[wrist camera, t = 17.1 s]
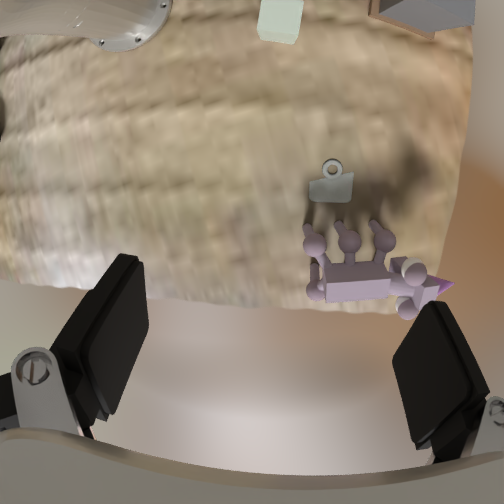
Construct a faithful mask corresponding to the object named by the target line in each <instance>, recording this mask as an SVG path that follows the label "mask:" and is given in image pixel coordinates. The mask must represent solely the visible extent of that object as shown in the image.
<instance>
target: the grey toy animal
mask: <svg viewBox="0 0 504 504" xmlns="http://www.w3.org/2000/svg"><path fill="white" fill-rule="evenodd" d="M369 227H370V228H371V230H372V231H373V232H374V233H375V237H374V245H375V247H376V249H377V251H376V255H375V258H374V261H365V262H355V253H356V252H357V251H358V250H359V249H360V247H361V238H360V236H359V234H358V233H357V232H355V231H352V230H347V229H346V227H345V226H344V224H343V223H342V222H341V221H336V222H335V224H334V228H335V230H336V231H337V233H338V235H339V236H340V237H339V240H338V245H339V247H340V249H341V250H342V251H343V252H344V253H345V263H333V264H332V263H331V262H330V260H329V258H328V257H327V255H326V254H325V251H326V248H327V243H326V240H325V238H324V237H323V236H322V235H320V234H318V233H314V231H313V228H312V226H311V225H310V224H309V223H306V224H304V225H303V232H304V235H305V237H306V238H305V239H304V242H303V248H304V251H305V252H306V254H308V255H309V256H311V257H315V258H316V259H317V261H318V262H319V264H320V266H321V267H322V269H323V278H322V279H321V280H320V277H319V265H318V264H316V263H313V264H311V265H310V283H309V284H308V285H307V288H306V293H307V295H308V297H309V298H310V299H311V300H314V301H320V300H322V299H324V298H325V300H326V303H334V302H347V301H360V300H372V299H383V298H388V294H391V295H397V296H399V297H398V299H397V301H396V310H397V312H398V314H399V316H400V317H401V318H403V319H405V320H410V319H413V318H414V317H416V315H417V314H418V312H419V310H421V309H422V307H423V306H424V305H425V304H427V303H428V302H429V301H431V300H434V301H435V300H436V297H437V295H439V294H440V293H442V292H443V291H445V290H446V289H447V288H449V287H450V286H452V285H453V284H454V283H453V282H450V281H447V280H443V279H440V278H437V277H434V276H431V275H427V270H426V267H425V265H424V264H423V262H422V261H421V260H420V259H419V258H416V257H411V258H407V257H406V256H405V257H396V258H391V261H390V268H389V272H388V271H387V269H386V267H385V265H384V259H385V256H386V253H388V252H390V251H392V250H393V249H394V247H395V245H396V237H395V235H394V234H393V233H392V232H391V231H389V230H384V229H383V228H382V227H381V226H380V225H379V223H378V222H377V221H376V220H371V221H370V222H369Z"/></svg>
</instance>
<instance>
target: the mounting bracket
mask: <svg viewBox="0 0 504 504" xmlns="http://www.w3.org/2000/svg"><path fill="white" fill-rule="evenodd" d="M332 164H333V165H336V166H337V169H338V170H337V172H336V173H335V174H330V173H328V170H327V169H328V166H329V165H332ZM342 170H343V169H342V165H341V163H340V162H339V161H338V160H335V159H330V160H327V161H326V162H325V163H324V164H323V167H322V172H323V174H324V176H325V177H327V178H323V179H319V180H314V181H310V187H309V198H310V200H311V201H314V202H333V203H347V202H349V201H350V200H351V196H352V187H353V176H354V172H350V173H345V174H342Z"/></svg>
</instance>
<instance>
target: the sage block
mask: <svg viewBox="0 0 504 504" xmlns="http://www.w3.org/2000/svg"><path fill="white" fill-rule="evenodd" d="M303 4H304V1H301V0H262V1H261V7H260V13H259V19H258V25H257V31H258V34H259V37H260V40H267V41H274V42H280V43H287V44H292V45H294V43H295V41H296V39H297V37H298V34H299V28H300V22H301V16H302V10H303Z"/></svg>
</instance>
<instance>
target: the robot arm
mask: <svg viewBox="0 0 504 504" xmlns="http://www.w3.org/2000/svg"><path fill="white" fill-rule="evenodd" d="M165 5H166V7H165V8H164V6H165ZM171 5H172V0H0V37H5V36H12V35H27V34H42V35H61V36H75V37H86V38H90V40H91V41H92V43H94V44H95V45H96V46H97V47H99V48H101V49H103V50H106V51H111V52H124V51H129V50H133V49H135V48H137V47H140V46H142V45H143V44H145V43H146V42H148V41H149V40H151V39H152V38H153V37H154V36H155V35H156V34H157V33H158V32H159V31H160V30H161V28H162V27H163V25H164V24H165V22H166V21H167V18H168V16H169V14H170V10H171ZM140 39H141V41H139V40H140ZM148 328H149V320H148V311H147V301H146V290H145V277H144V265H143V262H140V261H139V259H138V257H137V256H133V255H128V254H122V253H121V254H119V255H118V256H117V257H116V259H115V260H114V261H113V263H112V264H111V265H110V267H109V268H108V269H107V271H106V272H105V273H104V275H103V276H102V278H101V279H100V280H99V282H98V283H97V285H96V286H95V287H94V289H91V290H89V291H88V292H87V293H86V295H85V296H84V298H83V299H82V301H81V302H80V304H79V305H78V306H77V308H76V309H75V311H74V312H73V314H72V315H71V317H70V318H69V320H68V321H67V323H66V324H65V326H64V327H63V329H62V330H61V332H60V333H59V335H58V336H57V338H56V340H55V341H54V343H53V344H52V346H51V348H50V349H49V350H47V349H45V348H42V347H32V348H28V349H26V350H24V351H22V352H21V353H20V354H18V356H17V357H16V358H15V359H14V361H13V364H12V366H11V372H10V373H7V374H4V375H1V376H0V504H504V399H503V398H500V397H497V396H493V397H490V398H489V399H488V400H487V401H486V399H485V397H486V396H487V395H488V394H489V393H490V390H489V388H488V386H487V384H486V381H485V379H484V377H483V375H482V372H481V370H480V368H479V366H478V364H477V361H476V359H475V357H474V355H473V353H472V351H471V349H470V347H469V345H468V343H467V341H466V339H465V337H464V335H463V333H462V331H461V329H460V327H459V325H458V324H457V322H456V320H455V318H454V316H453V314H452V313H451V311H450V309H449V307H448V305H447V304H446V303H445V302H442V301H434V300H431V301H429V302H428V303H427V304H425V305H424V306H423V307H422V309H421V311H420V313H419V315H418V316H417V318H416V320H415V322H414V323H413V325H412V327H411V328H410V330H409V332H408V333H407V335H406V337H405V338H404V340H403V341H402V343H401V345H400V346H399V348H398V349H397V351H396V353H395V354H394V356H393V360H392V364H393V368H394V372H395V375H396V379H397V382H398V386H399V390H400V394H401V397H402V401H403V406H404V409H405V414H406V418H407V422H408V426H409V430H410V436H411V439H412V441H413V442H414V443H415V446H416V450H420V449H428V448H429V447H431V446H432V450H433V451H432V453H431V455H430V457H429V459H428V461H427V463H426V465H425V466H421V467H416V468H409V469H402V470H395V471H387V472H377V473H366V474H352V475H331V476H330V475H328V476H298V475H297V476H296V475H275V474H261V473H248V472H240V471H231V470H223V469H217V468H210V467H204V466H198V465H193V464H188V463H182V462H177V461H173V460H168V459H164V458H159V457H155V456H151V455H147V454H143V453H139V452H135V451H131V450H128V449H124V448H121V447H118V446H114V445H111V444H107V443H104V442H100V441H97V439H96V437H95V435H94V432H93V430H92V427H91V426H92V425H93V424H94V422H95V419H96V418H97V419H100V420H103V421H107V419H108V416H109V414H112V415H113V414H114V413H115V412H116V410H117V407H118V404H119V402H120V399H121V396H122V394H123V391H124V389H125V386H126V383H127V381H128V379H129V376H130V373H131V371H132V369H133V366H134V364H135V361H136V359H137V356H138V354H139V351H140V349H141V347H142V344H143V342H144V339H145V337H146V335H147V332H148Z"/></svg>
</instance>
